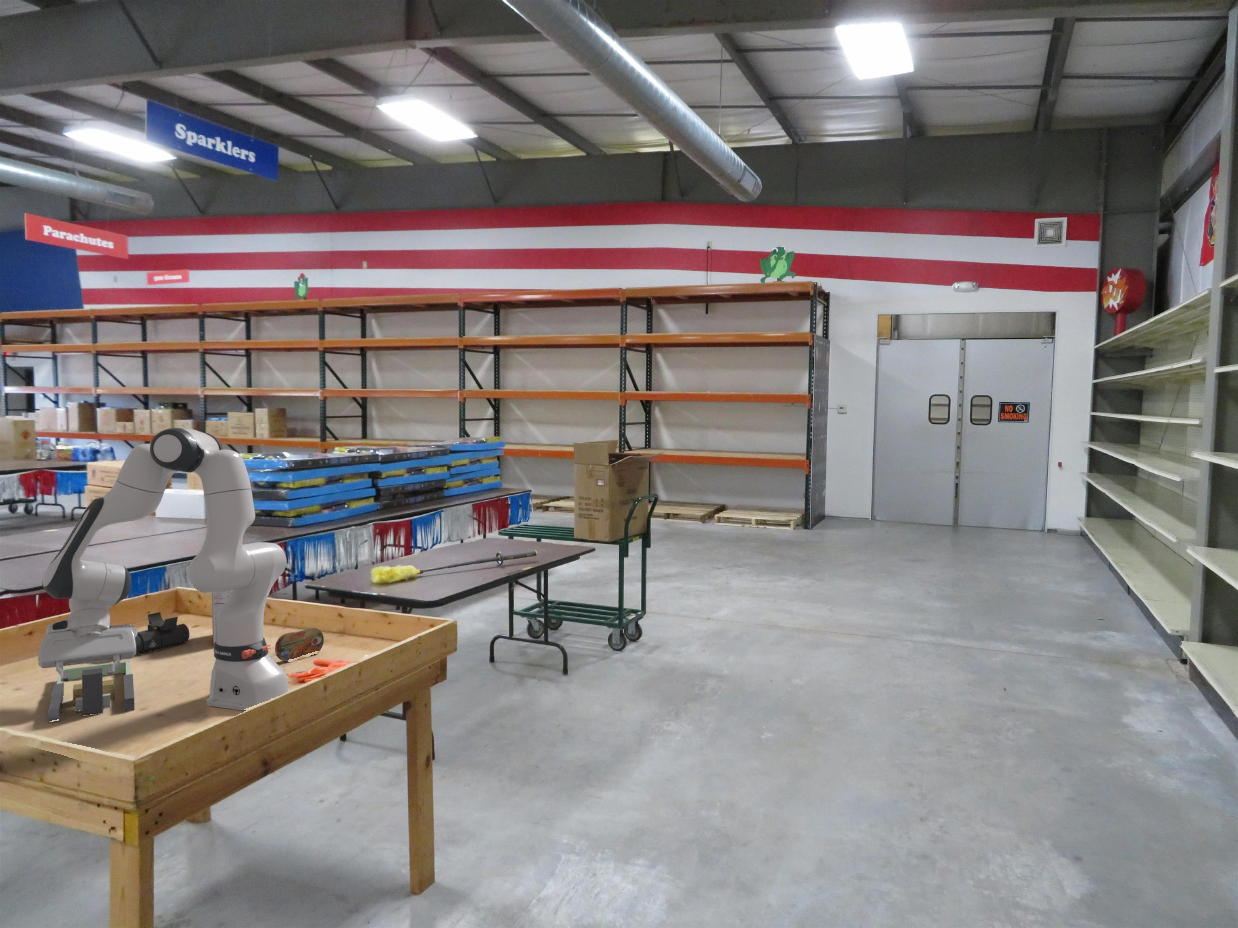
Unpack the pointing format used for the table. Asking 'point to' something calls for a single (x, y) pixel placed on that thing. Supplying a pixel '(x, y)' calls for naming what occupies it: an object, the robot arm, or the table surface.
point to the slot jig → (59, 693)
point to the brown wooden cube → (109, 688)
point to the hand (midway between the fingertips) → (88, 677)
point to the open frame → (77, 671)
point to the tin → (299, 643)
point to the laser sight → (161, 634)
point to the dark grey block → (92, 693)
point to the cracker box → (217, 602)
